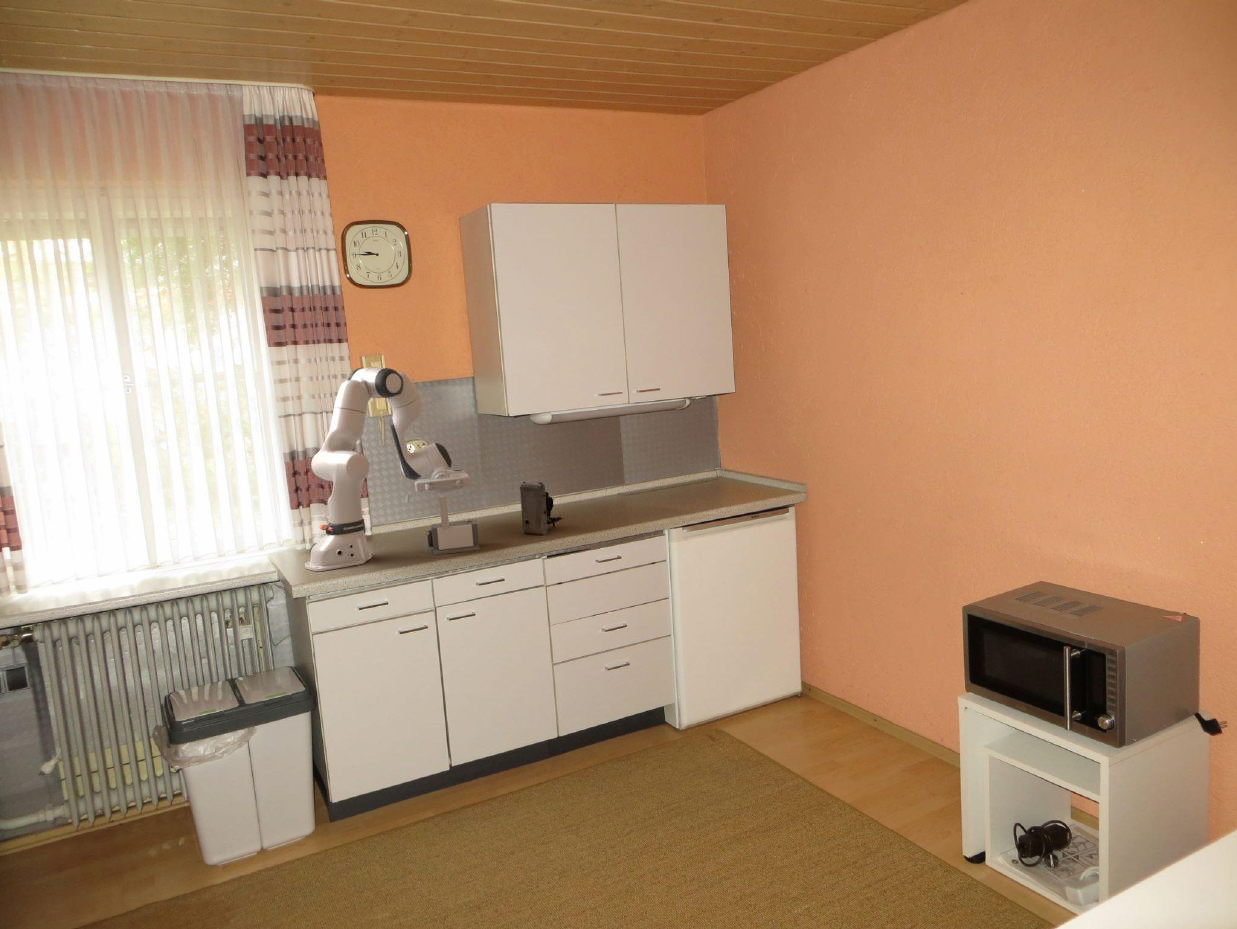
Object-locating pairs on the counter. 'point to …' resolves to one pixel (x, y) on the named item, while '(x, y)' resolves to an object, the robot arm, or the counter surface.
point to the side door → (452, 530)
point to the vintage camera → (536, 508)
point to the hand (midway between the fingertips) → (442, 486)
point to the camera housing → (434, 543)
